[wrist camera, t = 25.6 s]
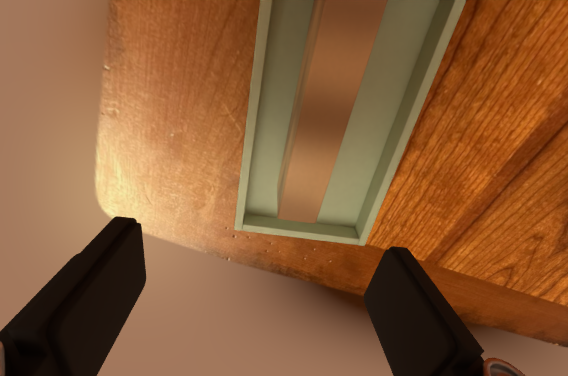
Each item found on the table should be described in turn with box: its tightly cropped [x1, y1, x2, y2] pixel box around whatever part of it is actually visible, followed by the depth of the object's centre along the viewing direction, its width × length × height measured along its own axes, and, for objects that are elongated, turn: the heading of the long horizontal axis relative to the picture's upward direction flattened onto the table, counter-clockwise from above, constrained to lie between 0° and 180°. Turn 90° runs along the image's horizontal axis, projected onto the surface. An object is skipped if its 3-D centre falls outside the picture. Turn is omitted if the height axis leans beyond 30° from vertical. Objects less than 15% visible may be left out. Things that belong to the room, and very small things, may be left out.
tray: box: [234, 0, 466, 246], centre depth 15 cm, size 10×21×2 cm, turn 170°
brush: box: [277, 0, 388, 224], centre depth 12 cm, size 18×6×4 cm, turn 170°
